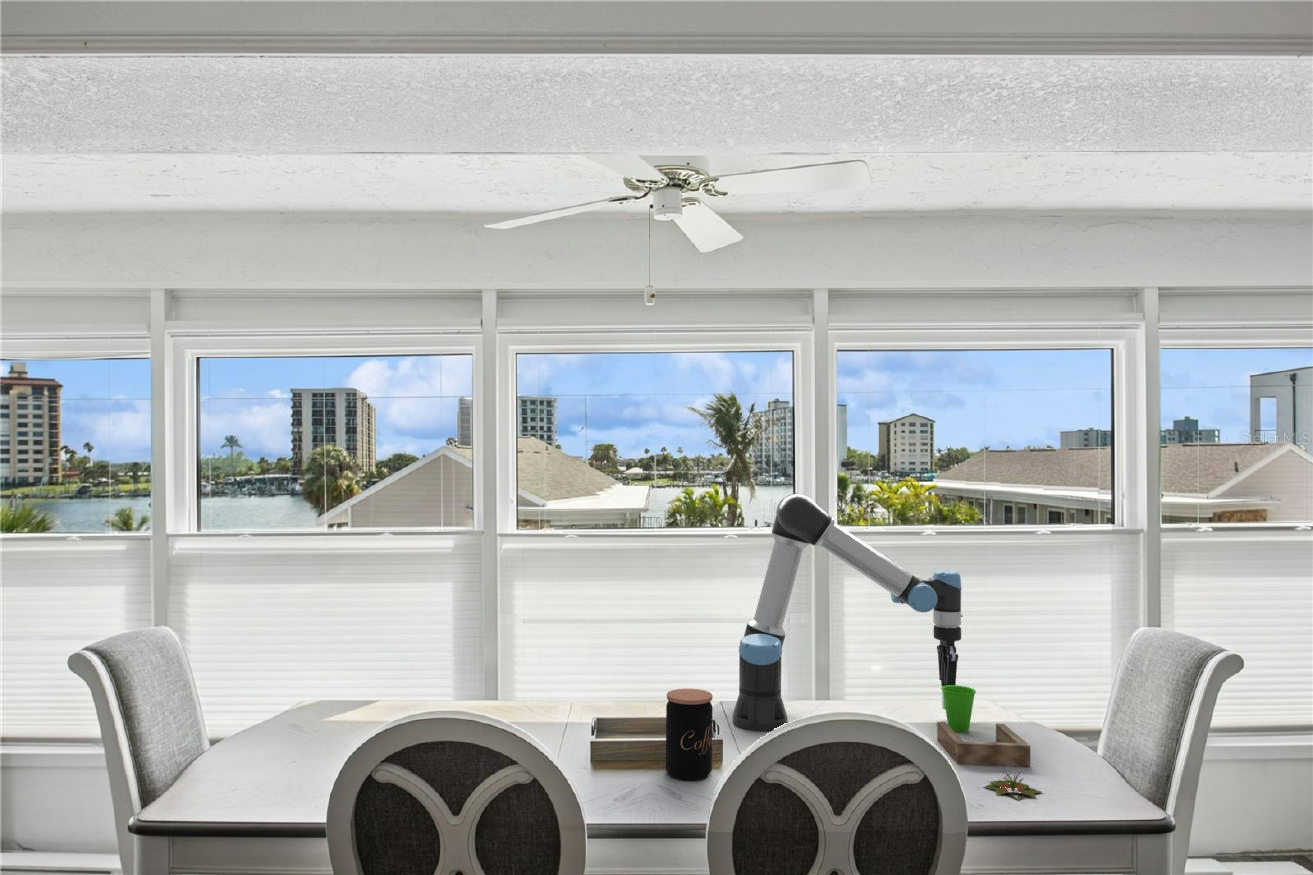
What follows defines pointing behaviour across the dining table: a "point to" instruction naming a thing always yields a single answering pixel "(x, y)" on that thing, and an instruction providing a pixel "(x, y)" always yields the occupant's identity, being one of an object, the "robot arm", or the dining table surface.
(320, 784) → the dining table surface
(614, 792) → the dining table surface
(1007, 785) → the lily flower
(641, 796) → the dining table surface
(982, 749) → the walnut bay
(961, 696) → the cup
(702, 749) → the coffee jar
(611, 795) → the dining table surface
